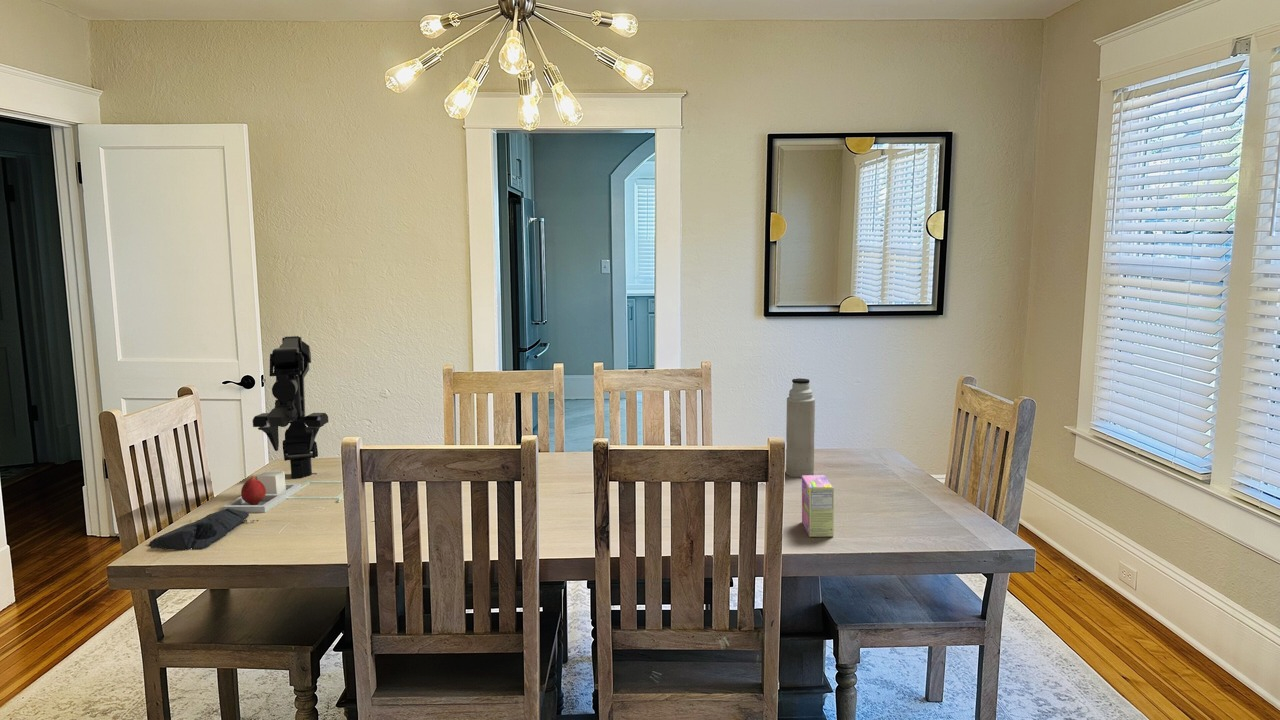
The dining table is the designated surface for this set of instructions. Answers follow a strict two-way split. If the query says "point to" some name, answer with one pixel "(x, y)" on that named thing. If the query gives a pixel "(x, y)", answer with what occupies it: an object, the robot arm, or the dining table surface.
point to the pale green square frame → (319, 497)
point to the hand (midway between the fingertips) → (293, 450)
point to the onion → (253, 491)
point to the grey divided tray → (263, 501)
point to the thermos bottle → (800, 429)
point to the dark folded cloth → (201, 531)
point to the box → (817, 506)
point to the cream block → (273, 481)
